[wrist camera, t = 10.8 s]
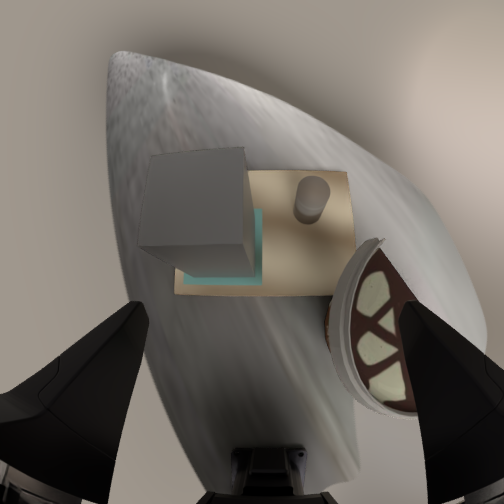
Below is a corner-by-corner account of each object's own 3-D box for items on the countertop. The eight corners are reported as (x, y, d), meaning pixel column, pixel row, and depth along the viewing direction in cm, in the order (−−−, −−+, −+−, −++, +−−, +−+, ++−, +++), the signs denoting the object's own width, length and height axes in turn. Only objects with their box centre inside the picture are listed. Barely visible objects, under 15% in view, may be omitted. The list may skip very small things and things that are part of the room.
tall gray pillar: (255, 277, 21) (242, 243, 12) (193, 277, 22) (137, 246, 12) (255, 217, 22) (243, 147, 13) (196, 219, 23) (150, 155, 13)
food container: (279, 309, 22) (285, 304, 12) (336, 266, 23) (378, 229, 13) (359, 414, 19) (405, 463, 10) (410, 370, 20) (477, 390, 10)
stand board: (354, 294, 22) (376, 288, 17) (178, 294, 22) (154, 288, 18) (344, 177, 24) (357, 147, 19) (187, 179, 25) (171, 150, 20)
